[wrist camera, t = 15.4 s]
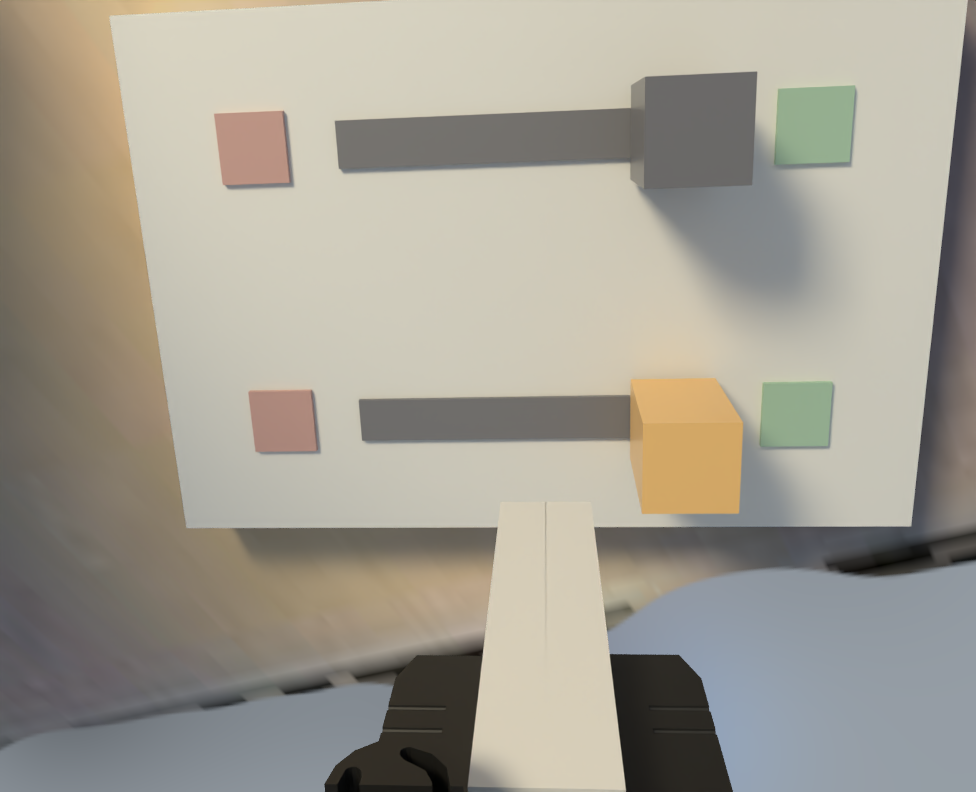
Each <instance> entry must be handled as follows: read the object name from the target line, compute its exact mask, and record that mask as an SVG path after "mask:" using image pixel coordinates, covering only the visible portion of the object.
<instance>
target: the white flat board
mask: <svg viewBox="0 0 976 792" xmlns="http://www.w3.org/2000/svg"><path fill="white" fill-rule="evenodd" d="M967 2H968V0H389V1H371V2H353V3H335V4H316V5H298V6H280V7H262V8H243V9H225V10H207V11H188V12H170V13H152V14H134V15H115V16H109V17H110V24H111V31H112V37H113V44H114V51H115V57H116V64H117V71H118V77H119V84H120V90H121V97H122V104H123V110H124V117H125V124H126V130H127V137H128V143H129V150H130V157H131V163H132V170H133V177H134V183H135V190H136V197H137V203H138V210H139V216H140V223H141V230H142V236H143V243H144V250H145V256H146V263H147V269H148V276H149V283H150V289H151V296H152V303H153V309H154V316H155V322H156V329H157V336H158V342H159V349H160V356H161V362H162V369H163V376H164V382H165V389H166V395H167V402H168V409H169V415H170V422H171V429H172V435H173V442H174V448H175V455H176V462H177V468H178V475H179V482H180V488H181V495H182V502H183V508H184V515H185V521H186V528H447V527H498V520H499V512H500V503H501V502H591V505H592V514H593V522H594V527H860V526H911V522H912V513H913V504H914V495H915V485H916V476H917V467H918V457H919V448H920V439H921V430H922V420H923V411H924V402H925V392H926V383H927V374H928V365H929V355H930V346H931V337H932V327H933V318H934V309H935V300H936V290H937V281H938V272H939V262H940V253H941V244H942V235H943V225H944V216H945V207H946V197H947V188H948V179H949V170H950V160H951V151H952V142H953V132H954V123H955V114H956V105H957V95H958V86H959V77H960V67H961V58H962V49H963V40H964V30H965V21H966V12H967ZM756 71H757V92H756V114H755V136H754V158H753V180H752V185H748V186H720V187H691V188H663V189H643V188H642V187H640V186H639V185H637V184H636V183H635V182H633V181H632V180H630V160H631V85H632V84H634V83H636V82H637V81H639V80H640V79H642V78H644V77H647V76H669V75H691V74H712V73H734V72H756ZM684 378H716V380H717V381H718V383H719V385H720V386H721V388H722V389H723V391H724V393H725V394H726V396H727V397H728V399H729V401H730V402H731V404H732V405H733V407H734V409H735V410H736V412H737V413H738V415H739V417H740V418H741V420H742V421H743V439H742V461H741V482H740V504H739V514H642V512H641V507H640V502H639V498H638V493H637V488H636V484H635V479H634V474H633V469H632V465H631V460H630V382H631V379H684Z"/></svg>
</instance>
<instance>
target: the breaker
mask: <svg viewBox="0 0 976 792" xmlns="http://www.w3.org/2000/svg"><path fill="white" fill-rule="evenodd" d="M756 92H757V71H756V72H734V73H712V74H691V75H669V76H647V77H644V78H642V79H640V80H639V81H637V82H636V83H634V84H632V85H631V160H630V180H632V181H633V182H635V183H636V184H637V185H639V186H640V187H642V188H643V189H663V188H691V187H720V186H748V185H752V180H753V158H754V136H755V114H756Z"/></svg>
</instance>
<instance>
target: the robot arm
mask: <svg viewBox="0 0 976 792" xmlns="http://www.w3.org/2000/svg"><path fill="white" fill-rule="evenodd" d="M325 792H733V790H732V787H731V783H730V780H729V776H728V773H727V769H726V765H725V762H724V758H723V755H722V751H721V748H720V744H719V740H718V737H717V735H716V734H715V726H714V723H713V719H712V715H711V712H709V705H708V701H707V698H706V694H705V691H704V687H703V683H702V680H701V678H700V677H699V676H698V675H697V674H696V673H695V671H694V670H693V669H692V668H691V667H690V666H689V665H688V664H687V663H686V662H685V661H684V660H683V659H682V658H681V657H680V656H679V655H627V654H624V655H622V654H618V655H617V654H609V646H608V638H607V629H606V621H605V613H604V605H603V596H602V588H601V580H600V572H599V563H598V555H597V547H596V538H595V530H594V522H593V514H592V505H591V502H501V503H500V512H499V520H498V529H497V537H496V546H495V555H494V563H493V572H492V581H491V589H490V598H489V607H488V615H487V624H486V632H485V641H484V650H483V656H431V655H417V656H416V657H415V658H414V659H413V660H412V661H411V662H410V663H409V664H408V666H407V667H406V668H405V669H404V670H403V671H402V672H401V673H400V674H399V675H398V676H397V677H396V679H395V683H394V686H393V690H392V694H391V698H390V701H389V710H388V711H387V713H386V716H385V720H384V724H383V732H382V733H381V735H380V739H379V741H378V742H376V743H373V744H371V745H368V746H365V747H363V748H360V749H358V750H355V751H354V752H352V753H351V754H350V755H349V756H347V757H346V758H345V759H343V760H342V761H341V762H340V763H338V764H337V765H336V766H335V768H334V769H333V771H332V772H331V774H330V776H329V778H328V779H327V781H326V783H325Z"/></svg>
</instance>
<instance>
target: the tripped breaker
mask: <svg viewBox="0 0 976 792" xmlns="http://www.w3.org/2000/svg"><path fill="white" fill-rule="evenodd" d="M742 439H743V421H742V420H741V418H740V417H739V415H738V413H737V412H736V410H735V409H734V407H733V405H732V404H731V402H730V401H729V399H728V397H727V396H726V394H725V393H724V391H723V389H722V388H721V386H720V385H719V383H718V381H717V380H716V378H684V379H631V382H630V460H631V465H632V469H633V474H634V479H635V484H636V488H637V493H638V498H639V502H640V507H641V512H642V514H739V504H740V482H741V461H742Z"/></svg>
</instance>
